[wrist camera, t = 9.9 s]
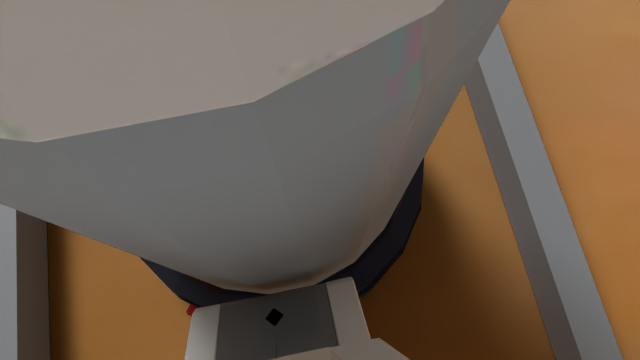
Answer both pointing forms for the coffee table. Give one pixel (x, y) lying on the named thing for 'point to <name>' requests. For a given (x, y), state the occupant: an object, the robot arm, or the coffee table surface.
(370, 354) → the robot arm
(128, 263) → the coffee table surface
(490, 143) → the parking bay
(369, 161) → the humidifier
